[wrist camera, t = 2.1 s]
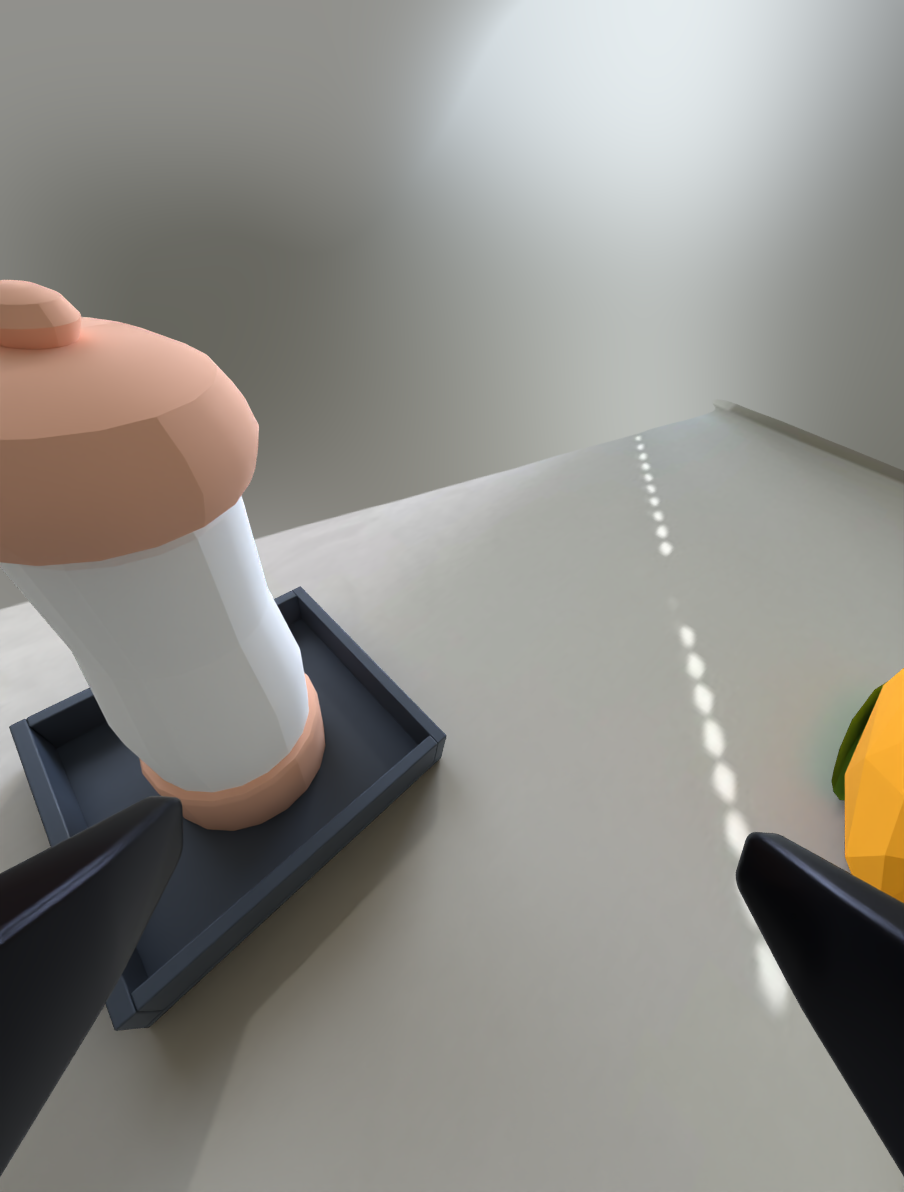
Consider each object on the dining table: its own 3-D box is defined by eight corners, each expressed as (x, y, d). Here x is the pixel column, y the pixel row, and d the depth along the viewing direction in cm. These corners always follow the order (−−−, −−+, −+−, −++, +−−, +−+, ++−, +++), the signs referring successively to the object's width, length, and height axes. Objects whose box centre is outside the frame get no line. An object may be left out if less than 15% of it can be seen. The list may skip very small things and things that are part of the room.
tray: (148, 1028, 14) (114, 1032, 13) (41, 751, 20) (7, 725, 18) (441, 757, 22) (447, 735, 20) (305, 613, 28) (300, 585, 26)
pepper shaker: (164, 714, 22) (-197, 229, 8) (308, 671, 24) (219, 258, 11) (168, 862, 17) (-591, 360, 4) (342, 791, 20) (264, 352, 7)
